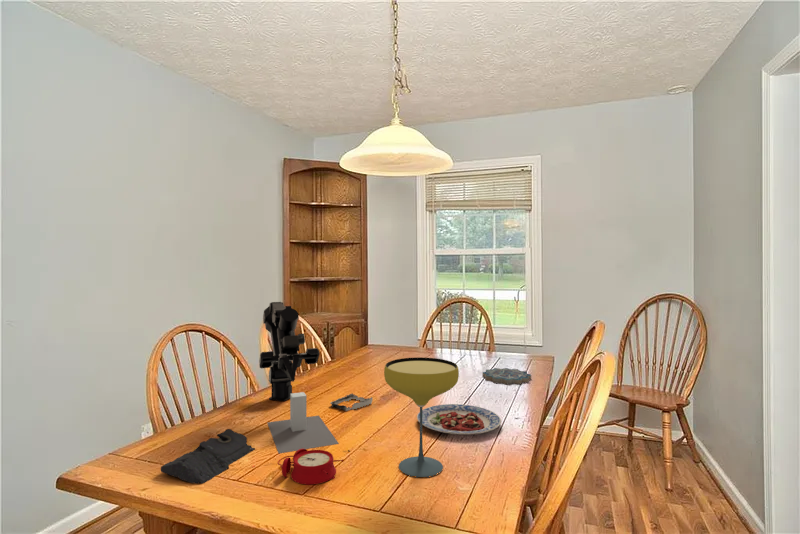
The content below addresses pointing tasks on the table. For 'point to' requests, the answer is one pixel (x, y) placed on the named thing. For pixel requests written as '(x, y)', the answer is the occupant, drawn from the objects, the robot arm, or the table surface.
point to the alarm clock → (310, 466)
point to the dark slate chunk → (209, 458)
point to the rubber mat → (301, 435)
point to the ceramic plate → (459, 419)
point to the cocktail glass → (421, 398)
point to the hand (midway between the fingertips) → (292, 380)
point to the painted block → (298, 411)
